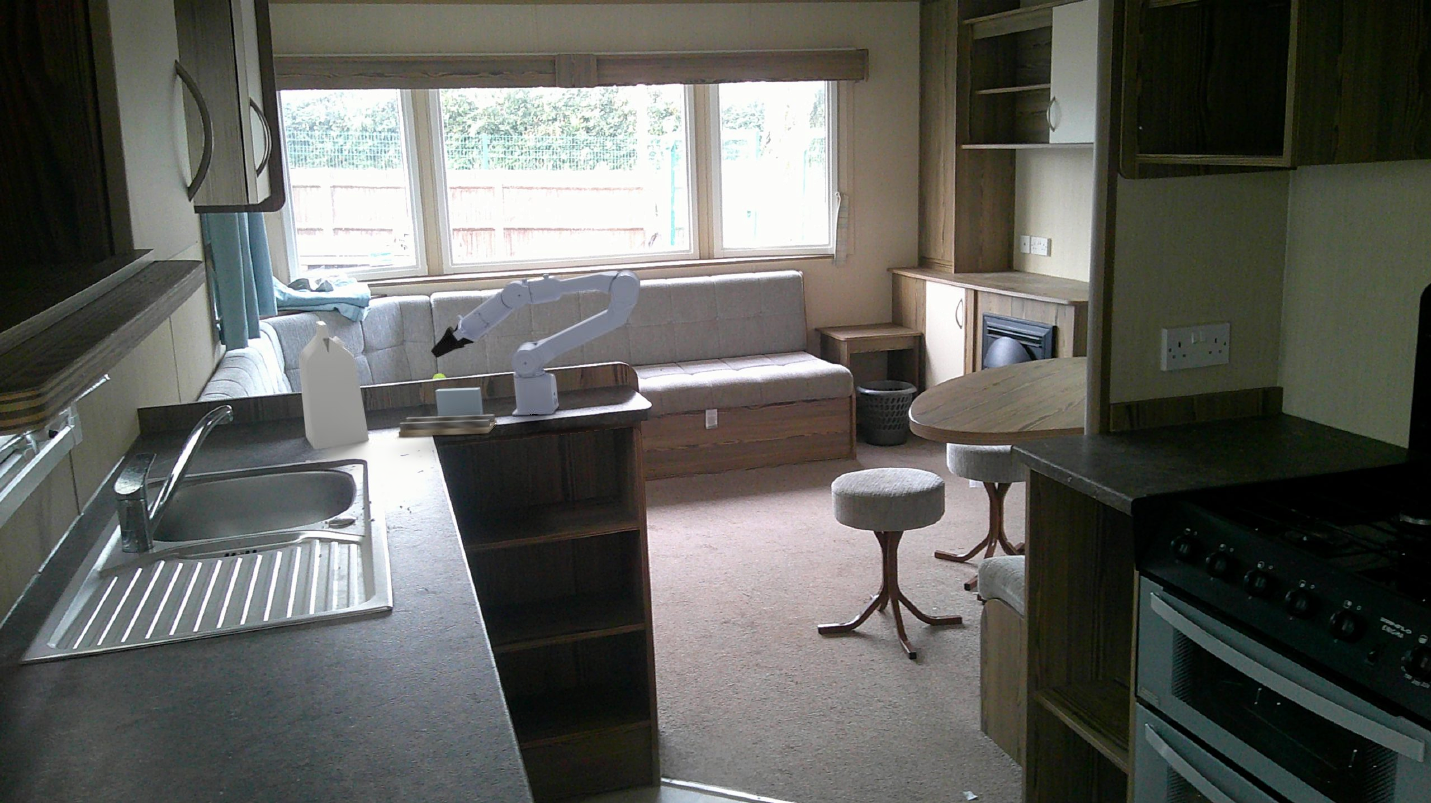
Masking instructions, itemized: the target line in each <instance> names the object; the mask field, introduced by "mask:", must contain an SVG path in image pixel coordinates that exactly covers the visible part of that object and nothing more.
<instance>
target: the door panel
mask: <svg viewBox="0 0 1431 803" xmlns="http://www.w3.org/2000/svg"><path fill="white" fill-rule="evenodd" d="M434 393H435V400H436V407H437V408H436V409H437V416H463V415H484V408H483V400H482V391H481V387H462V388H461V387H459V388H458V387H457V388H455V387H454V388H438V389H436V390H435V392H434Z"/></svg>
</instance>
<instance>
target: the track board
mask: <svg viewBox="0 0 1431 803" xmlns="http://www.w3.org/2000/svg"><path fill="white" fill-rule="evenodd" d="M495 423H497V424H498V421H497V418H496V417H495V414H483V415H463V416H438V415H437V416H413V417H412V416H411V417H409V416H408V417H406V418H405V422H400V423H399V431H398V432H397V433H398V437H417V436H419V437H420V436H445V435H474V434H475V435H476V434H477V435H479V434H488V433H490V432H491V431H492V429H494V427H495V426H496V425H495ZM494 425H495V426H494ZM493 426H494V427H493Z"/></svg>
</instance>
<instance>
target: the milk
mask: <svg viewBox="0 0 1431 803" xmlns="http://www.w3.org/2000/svg"><path fill="white" fill-rule="evenodd" d="M315 327H316V333H315V335H314V336H313V338H311V340H310V341H309V342H308V343H307V344H306V346H305V347H304V348H302V350H301V352H300V354H299V355H298V366H299V367H298V368H299V369H298V370H299V378H300V387H301V388H300V389H301V399H302V409H303V418H304V428H305V438H306V439H307V440H308V443H309V444H310V445H311V447H312V448H313V450H319V449H326V448H331V447H337V446H344V445H348V444H349V445H351V444H354V443H360V442H361V443H362V442H367V441H370V438H369V432H368V426H367V420H366V414H365V408H364V402H363V397H362V390H361V386H360V385H361V384H360V380H359V378H360V377H359V374H358V368H357V363H356V362H357V361H356V358H355V354H354V353H353V354H352V353H351V352H350V351H349V349H347V348H345V346H346V345H347V343H345V341H343V340H342V339H341V338H339V337H338V336H337V335H335V336H334V337H333V338H332V337H330V334H329V333H330V332H329V328H328V324H327V323H325V322H324V321H323V320H319V321H315Z"/></svg>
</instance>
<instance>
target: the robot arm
mask: <svg viewBox="0 0 1431 803" xmlns="http://www.w3.org/2000/svg"><path fill="white" fill-rule="evenodd" d="M640 288H641V280H640V277H639V276H638V274H637V273H636V272H635V271H633V270H628V269H624V270H621V271H618V270H608V271H601V272H595V273H589V274H586V275H580V276H575V277H570V278H569V277H568V278H565V279H560V278H559V277H557V276H555V275H550V274H549V273H544V274H543V275H542V277H541V276H540V277H536V278H535V277H534V278H530V279H528V278H527V277H524V278H521V280H512V281H511V282H510V281H509V282H508V283H507V284H506V285H505V287H504V288H503V289H502V290H500V291H498V292H497V293H495V295H492V296H491V297H489V298H488V299H486V300H485V301H484V302H482V303H481V304H480V305H478V306H477V307H475V309H473V310H472V311H470V312H469V313H468V314H467V315H465V316H464V317H463V316H462V315H461V314H458V315H457V316H455V317H456V318H455V319H456V320H457V325H456V326H455V328H453V327H452V326H448V327H447V328H446V330H445V331H444V334H443V336H442V337H441V338H440V340H439V341H438V342H437V343H436V344H435V345H434V346H433V348H431V350H430V352H431V354H432V355H433V356H434V357H435V358H436V359H437V358H440V357H442V356H444V355H446V354H448V353H451V352H453V351H456V350H459V349H463V348H465V346H466V345H470V344H474V343H476V342H477V341H478V340H479V338H480V337H482V336H483V335H485V334H486V333H487V332H489V331H490V330H492V328H494V327H495V326H497V325H498V324H499V323H501V322H503V320H505V319H506V318H507V317H508V316H509V315H510V313H513V312H514V311H515V310H516V309H518V310H519V309H522V308H523V307H524V306H525V305H526V304H529V305H537V304H538V305H539V304H543V303H544V304H545V303H549V302H556V301H559V300H560V299H561V297H562V296H563V295H564V294H572V293H579V292H580V293H581V292H586V291H587V292H588V291H595V290H596V291H599V292H601V293H603V294H605V295H607V296H608V295H609V294H610V298H611V299H610V300H609V305H608V308H607V309H606V310H603V311H601V312H599V313H597V314H595V315H593V316H590V317H588V318H585V320H582V321H580V322H578V323H576V324H574V325H572V326H570V327H568V328H565V329H563V330H561V331H558V332H557V333H555V334H553V335H551V336H549V337H546V338H542V339H539V340H537V341H534V342H531V341H529V342H524V343H522V344H521V345H519V347H518V348H517V350H516V352H514V354H513V356H512V358H511V367H512V369H513V371H514V372H513V374H512V375H513V383H514V384H513V385H514V392H515V393H514V394H515V401H516V404H515V405H516V409H515V410H514V411H513V412H512V416H532V414H538V415H553V414H554V412H555V411H556V410H557V409H558V407H559V406H560V404H559V401H558V400H559V399H558V397H559V396H558V387H557V386H558V385H557V380H556V375H555V374H554V373H548V372H546V369H544V367H543V366H544V365H547V364H548V363H549V362H550V361H552V360H553V359H555V358H557V357H558V356H561V355H564V354H565V353H567V352H570V351H571V350H573V349H576V348H578V347H580V346H582V345H584V344H587V343H588V342H590V341H592V340H594V339H596V338H598V337H600V336H603V335H605V334H607V333H609V332H611V331H613V330H616V329H617V328H619V327H621V326H623V325H624V324H625V323H626V321H627V320H628V318H629V316H630V315H631V313H632V311H633V309H634V308H635V306H636V304H637V303H638V299H639V294H640ZM530 414H531V415H530Z"/></svg>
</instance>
